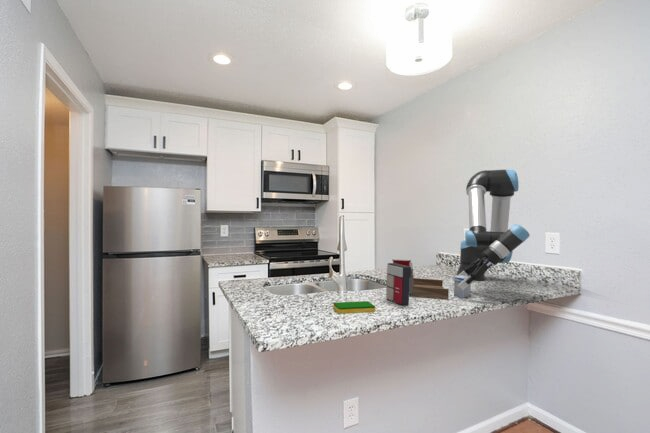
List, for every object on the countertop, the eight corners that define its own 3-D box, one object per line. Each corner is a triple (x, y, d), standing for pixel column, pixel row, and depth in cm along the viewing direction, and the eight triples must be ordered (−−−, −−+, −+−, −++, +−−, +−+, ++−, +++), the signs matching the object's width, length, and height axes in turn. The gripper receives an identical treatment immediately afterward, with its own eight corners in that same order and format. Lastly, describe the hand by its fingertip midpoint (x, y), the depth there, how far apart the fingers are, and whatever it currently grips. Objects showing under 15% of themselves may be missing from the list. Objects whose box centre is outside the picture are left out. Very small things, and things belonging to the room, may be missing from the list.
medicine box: (460, 293, 141) (461, 275, 141) (470, 295, 138) (471, 276, 138) (453, 296, 136) (454, 276, 136) (463, 298, 132) (464, 278, 132)
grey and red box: (384, 298, 128) (385, 263, 128) (393, 298, 129) (394, 262, 130) (401, 305, 118) (402, 267, 118) (410, 304, 119) (411, 266, 120)
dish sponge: (332, 308, 113) (333, 302, 113) (367, 307, 116) (367, 300, 116) (338, 314, 106) (338, 307, 106) (375, 312, 109) (375, 306, 109)
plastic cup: (409, 278, 176) (409, 257, 176) (412, 282, 165) (413, 260, 165) (390, 277, 177) (390, 257, 177) (392, 281, 166) (393, 259, 166)
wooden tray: (408, 285, 155) (409, 262, 155) (442, 288, 151) (442, 264, 151) (409, 295, 134) (410, 268, 134) (448, 299, 130) (448, 271, 130)
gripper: (511, 263, 121) (469, 297, 124) (493, 256, 145) (459, 285, 149) (496, 249, 122) (456, 283, 126) (481, 244, 146) (447, 273, 150)
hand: (457, 284), depth 137 cm, fingers open, 13 cm apart
